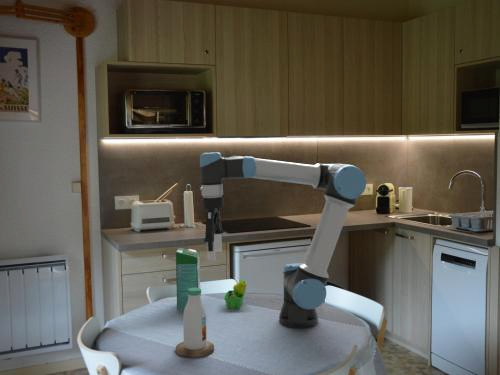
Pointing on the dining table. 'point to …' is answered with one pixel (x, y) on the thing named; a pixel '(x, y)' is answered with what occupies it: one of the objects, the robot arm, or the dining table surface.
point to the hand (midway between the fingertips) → (215, 255)
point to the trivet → (194, 353)
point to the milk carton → (186, 274)
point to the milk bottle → (194, 321)
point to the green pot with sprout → (236, 295)
